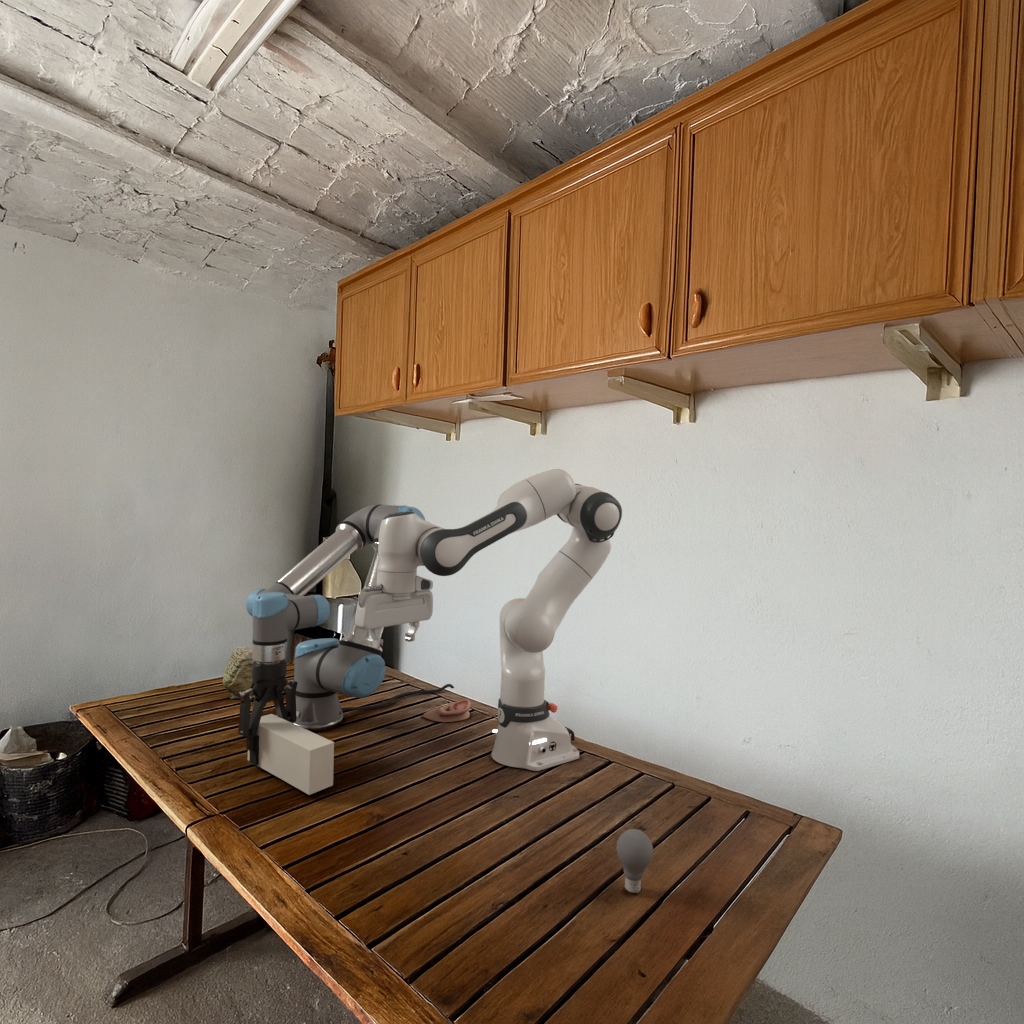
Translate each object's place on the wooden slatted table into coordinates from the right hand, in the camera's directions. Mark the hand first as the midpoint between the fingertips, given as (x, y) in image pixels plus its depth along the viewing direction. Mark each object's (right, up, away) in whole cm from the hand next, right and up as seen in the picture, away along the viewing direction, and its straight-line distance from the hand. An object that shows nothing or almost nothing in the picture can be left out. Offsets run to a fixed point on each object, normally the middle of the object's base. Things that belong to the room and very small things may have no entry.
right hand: (394, 644), depth 143 cm
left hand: (-30, -28, +4) cm, 41 cm away
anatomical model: (+7, -30, +43) cm, 53 cm away
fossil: (-54, -27, +55) cm, 82 cm away
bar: (-23, -28, -2) cm, 37 cm away
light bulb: (+47, -34, -38) cm, 69 cm away
